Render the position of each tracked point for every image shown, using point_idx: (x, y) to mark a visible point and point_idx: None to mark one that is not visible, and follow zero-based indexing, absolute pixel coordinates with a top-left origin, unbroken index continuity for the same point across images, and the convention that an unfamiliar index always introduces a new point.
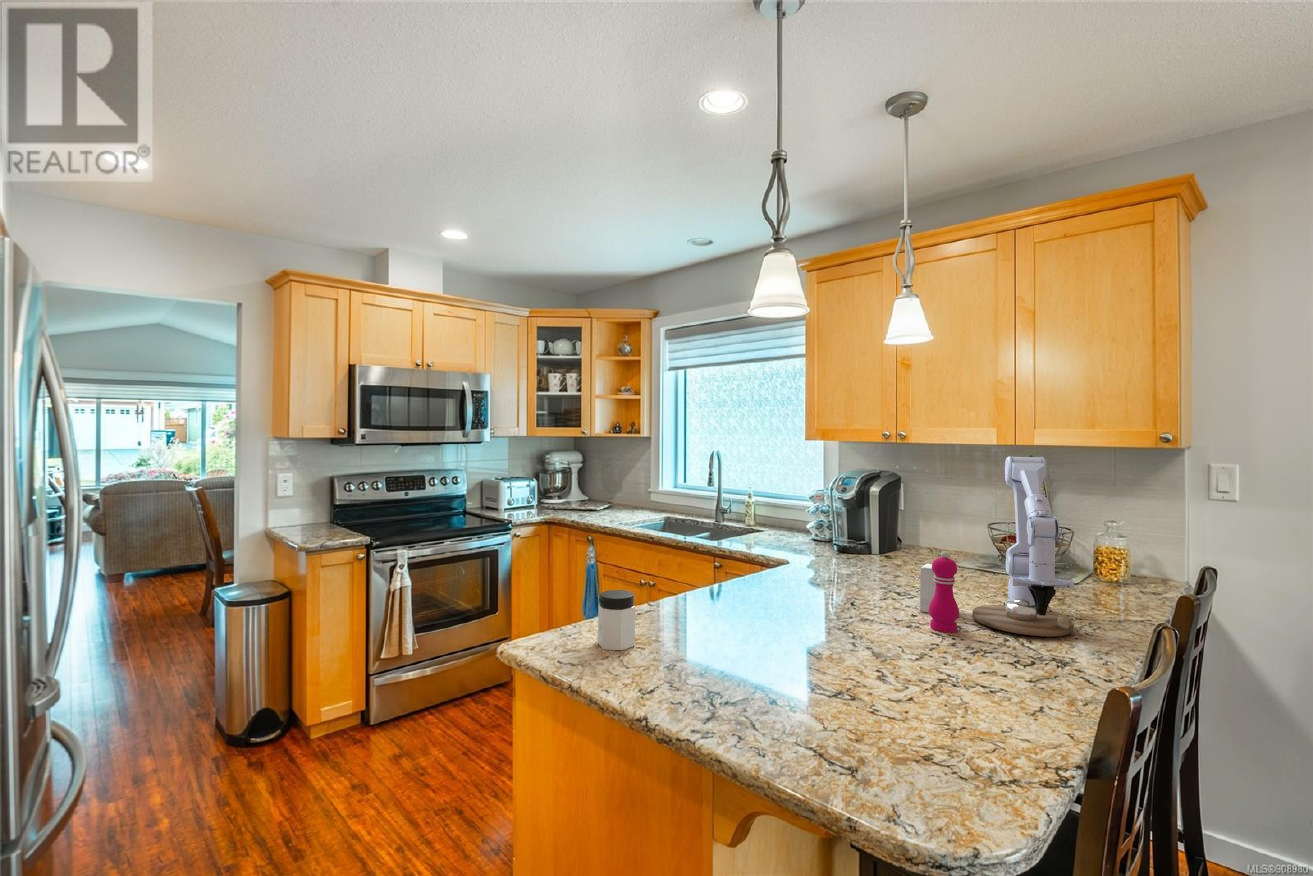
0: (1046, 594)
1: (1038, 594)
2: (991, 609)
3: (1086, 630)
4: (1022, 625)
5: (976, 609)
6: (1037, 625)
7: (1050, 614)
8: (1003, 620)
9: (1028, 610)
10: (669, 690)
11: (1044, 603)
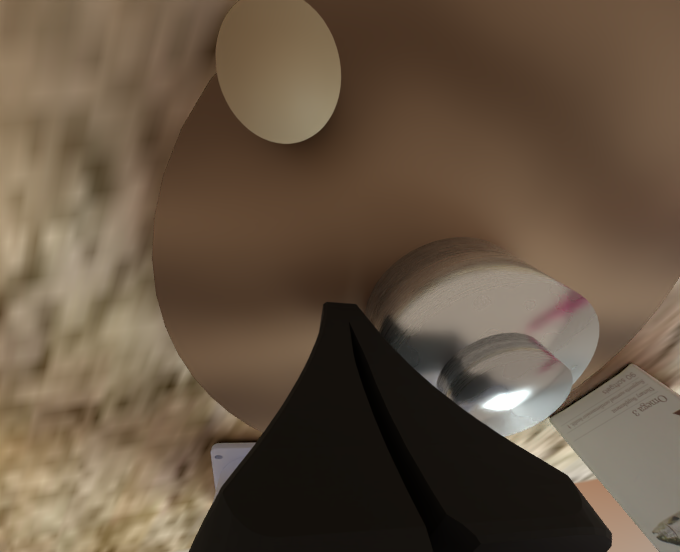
0: (387, 459)
1: (494, 450)
2: None
3: (85, 248)
4: (582, 133)
5: None
6: (468, 143)
7: (237, 383)
8: (597, 243)
9: (513, 272)
10: None
11: (354, 361)
